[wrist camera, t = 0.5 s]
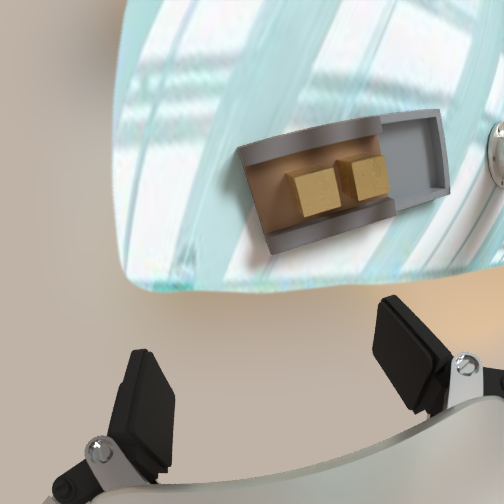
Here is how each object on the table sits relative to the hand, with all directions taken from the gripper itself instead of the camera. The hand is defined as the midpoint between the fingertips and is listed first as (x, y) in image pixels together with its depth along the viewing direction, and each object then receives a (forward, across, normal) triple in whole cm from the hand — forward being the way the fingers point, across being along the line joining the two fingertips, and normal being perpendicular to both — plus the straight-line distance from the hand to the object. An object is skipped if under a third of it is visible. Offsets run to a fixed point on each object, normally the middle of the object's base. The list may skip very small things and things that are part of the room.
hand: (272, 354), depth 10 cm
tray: (+22, -24, -4) cm, 33 cm away
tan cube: (+21, -14, -3) cm, 25 cm away
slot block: (+23, -10, -2) cm, 25 cm away
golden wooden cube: (+21, -8, -2) cm, 23 cm away
